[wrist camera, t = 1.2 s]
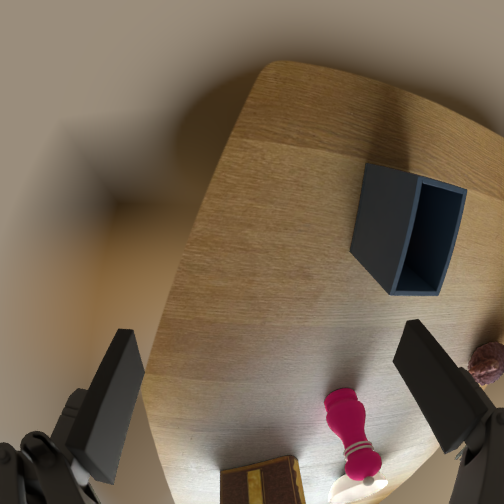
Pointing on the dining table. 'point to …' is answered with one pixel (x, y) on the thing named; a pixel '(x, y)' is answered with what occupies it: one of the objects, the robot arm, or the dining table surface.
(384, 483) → the bowl
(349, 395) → the pepper mill
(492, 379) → the pine cone
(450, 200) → the gray box
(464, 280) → the dining table surface
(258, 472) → the book
